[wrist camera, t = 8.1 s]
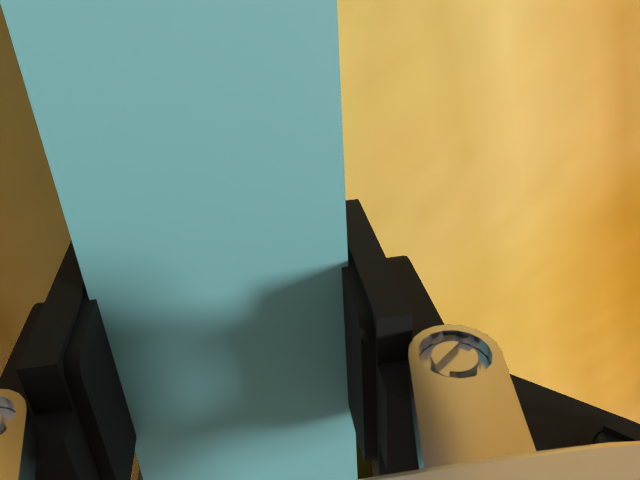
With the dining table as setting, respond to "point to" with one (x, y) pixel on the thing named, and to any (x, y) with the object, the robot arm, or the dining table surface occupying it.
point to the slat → (205, 220)
